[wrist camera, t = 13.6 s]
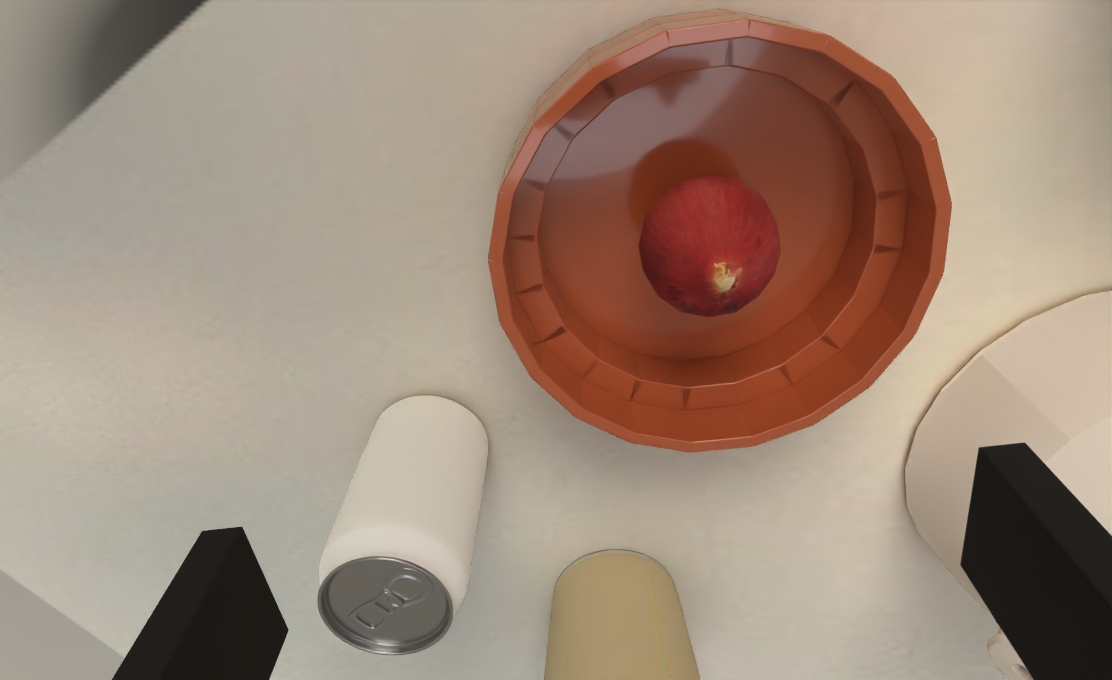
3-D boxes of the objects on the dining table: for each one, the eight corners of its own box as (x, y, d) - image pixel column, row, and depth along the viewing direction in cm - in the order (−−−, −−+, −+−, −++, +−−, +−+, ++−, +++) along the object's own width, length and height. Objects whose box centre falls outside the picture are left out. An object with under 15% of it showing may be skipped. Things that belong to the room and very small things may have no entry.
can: (513, 440, 41) (495, 609, 31) (438, 504, 43) (396, 683, 33) (424, 368, 39) (371, 523, 29) (350, 439, 41) (275, 608, 31)
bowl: (470, 41, 32) (450, 59, 26) (906, -20, 30) (978, -14, 25) (531, 400, 40) (526, 469, 35) (876, 364, 39) (925, 430, 33)
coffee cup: (593, 665, 50) (601, 859, 39) (510, 580, 46) (494, 768, 35) (716, 609, 47) (760, 800, 36) (638, 514, 44) (661, 696, 33)
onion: (763, 263, 36) (811, 341, 28) (644, 287, 36) (662, 368, 29) (750, 144, 33) (801, 196, 26) (623, 171, 34) (638, 230, 26)
